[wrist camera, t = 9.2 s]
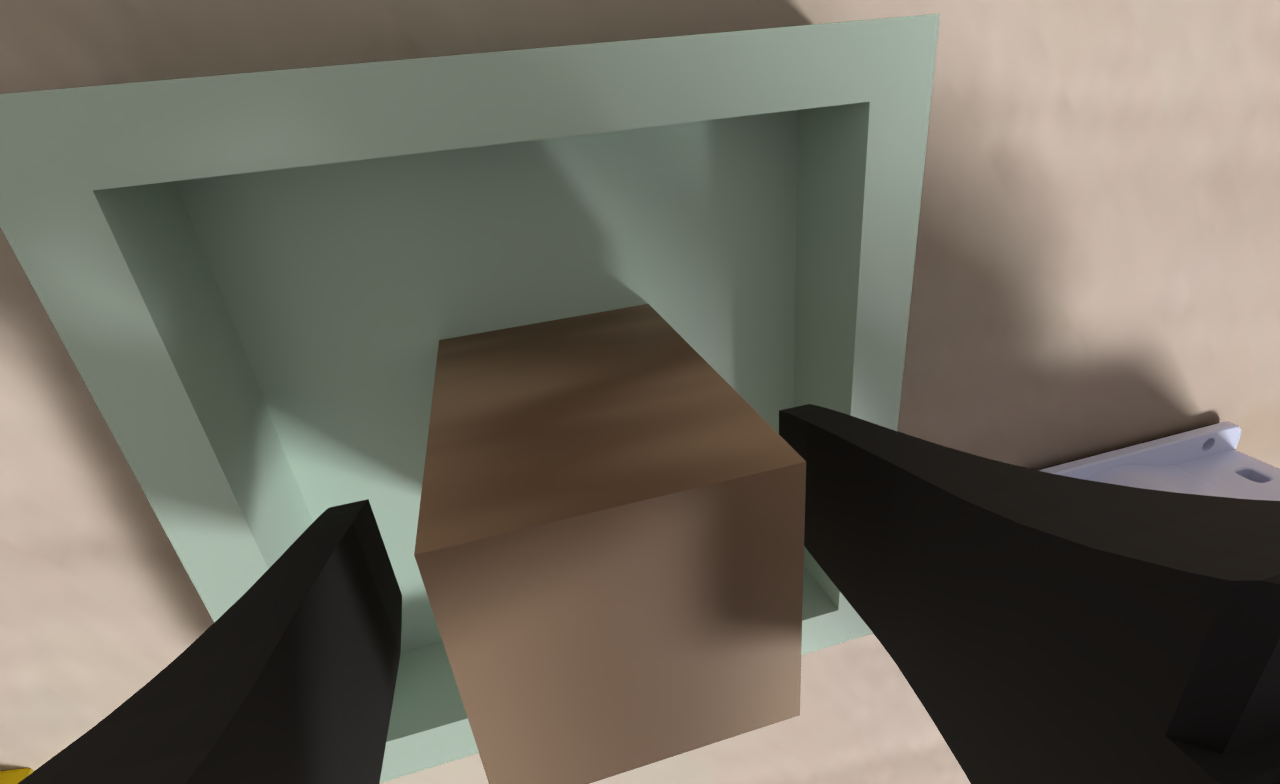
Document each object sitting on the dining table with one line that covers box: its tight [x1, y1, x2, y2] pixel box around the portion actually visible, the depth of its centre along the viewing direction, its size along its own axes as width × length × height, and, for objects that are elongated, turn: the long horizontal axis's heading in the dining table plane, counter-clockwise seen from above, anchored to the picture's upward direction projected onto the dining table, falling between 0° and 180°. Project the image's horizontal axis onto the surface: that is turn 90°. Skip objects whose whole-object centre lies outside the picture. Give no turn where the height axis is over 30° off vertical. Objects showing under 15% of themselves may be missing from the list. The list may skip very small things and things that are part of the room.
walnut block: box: [414, 304, 806, 784], centre depth 11 cm, size 4×4×7 cm
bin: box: [0, 14, 940, 783], centre depth 13 cm, size 14×14×4 cm
